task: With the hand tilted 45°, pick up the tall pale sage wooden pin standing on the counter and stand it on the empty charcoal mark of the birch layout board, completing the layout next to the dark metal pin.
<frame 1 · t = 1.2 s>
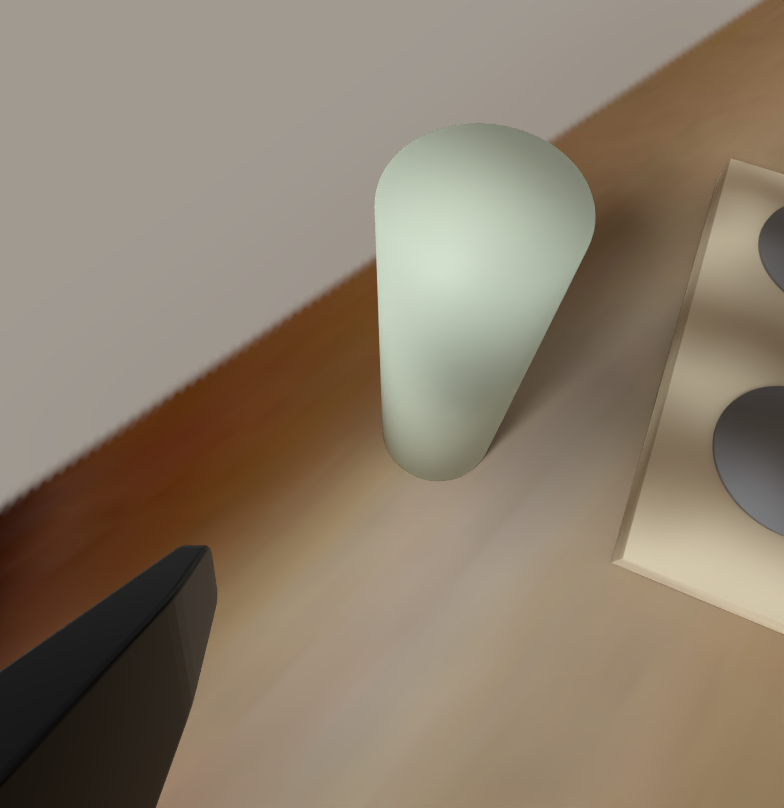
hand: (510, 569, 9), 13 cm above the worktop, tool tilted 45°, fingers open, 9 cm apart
sage pin: (436, 428, 24), on the worktop
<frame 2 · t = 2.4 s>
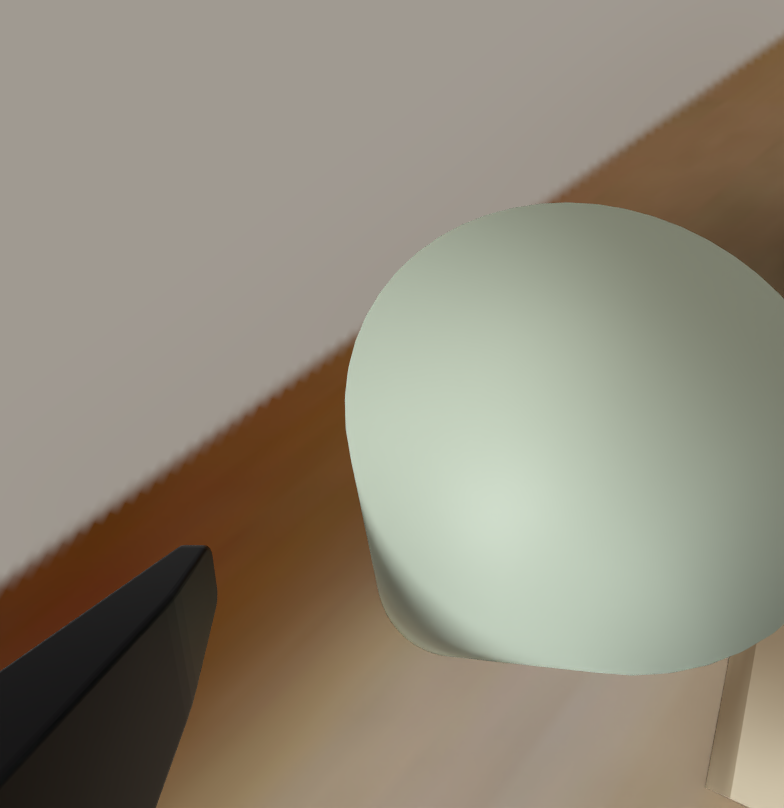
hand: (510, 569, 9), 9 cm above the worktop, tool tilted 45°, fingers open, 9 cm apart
sage pin: (452, 574, 17), on the worktop
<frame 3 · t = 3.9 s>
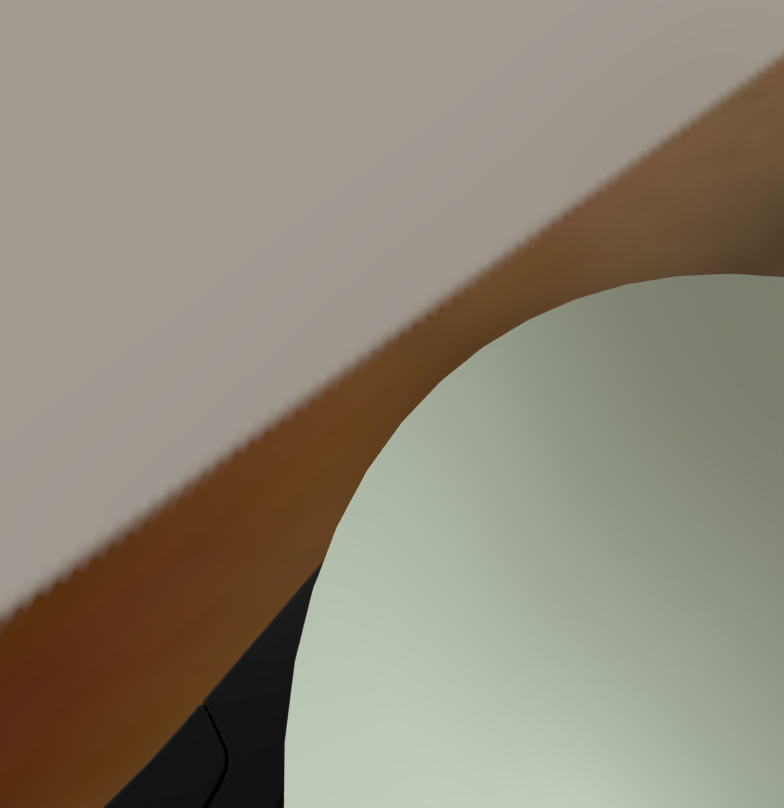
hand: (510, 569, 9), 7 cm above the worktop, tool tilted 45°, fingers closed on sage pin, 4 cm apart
sage pin: (463, 660, 14), on the worktop, touching gripper
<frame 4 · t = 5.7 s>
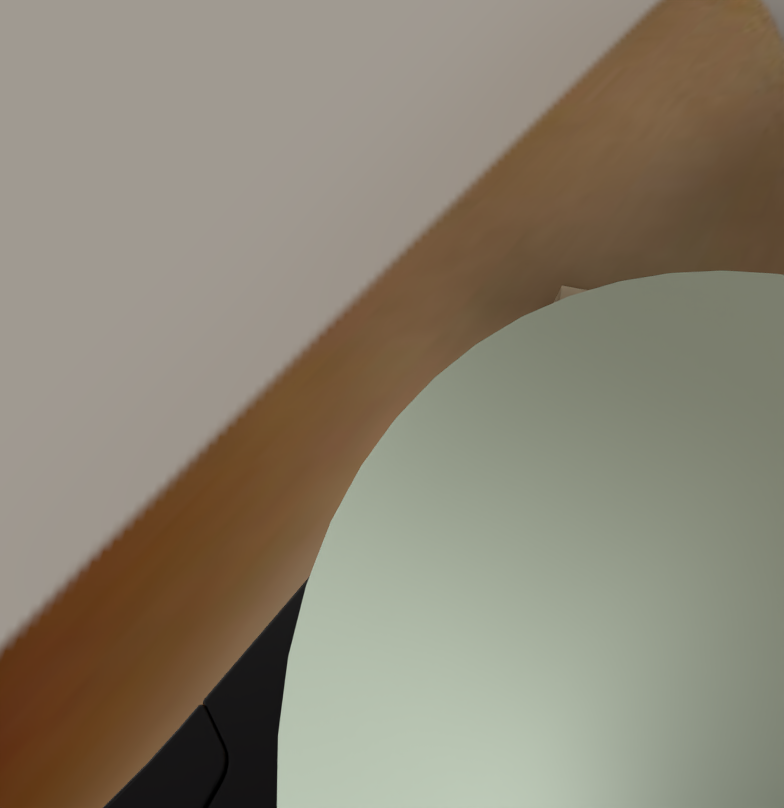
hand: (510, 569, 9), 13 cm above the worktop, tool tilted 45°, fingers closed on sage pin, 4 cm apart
sage pin: (462, 659, 14), point 7 cm above the worktop, touching gripper
when the fingers open (9 cm above the worktop, at t = 7.7 s): sage pin drops 1 cm, resting on layout board.
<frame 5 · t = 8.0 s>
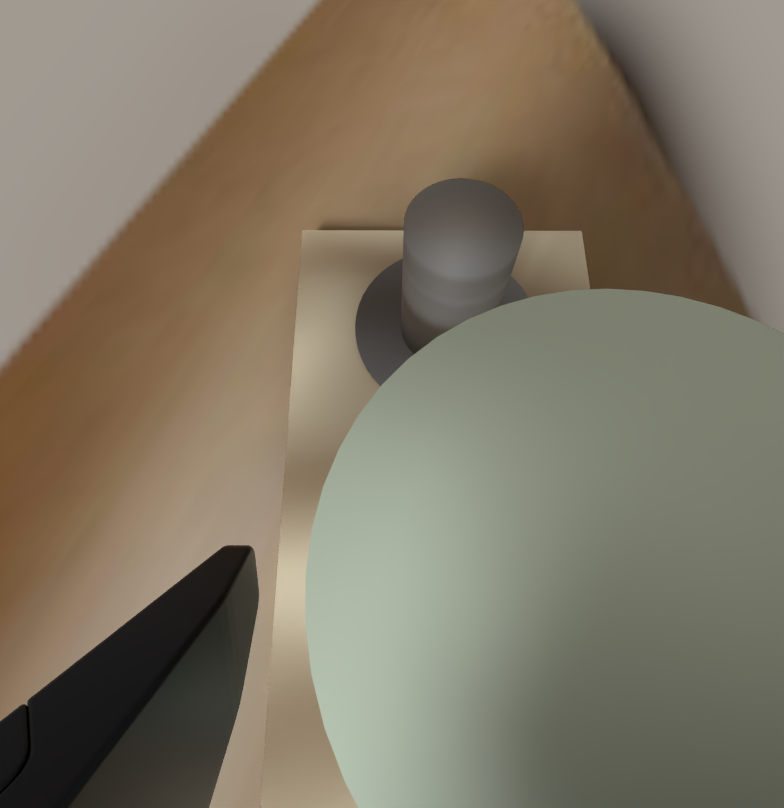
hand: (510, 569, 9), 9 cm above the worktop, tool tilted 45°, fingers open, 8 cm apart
sage pin: (459, 660, 15), point 2 cm above the worktop, touching layout board
layout board: (448, 516, 18), on the worktop
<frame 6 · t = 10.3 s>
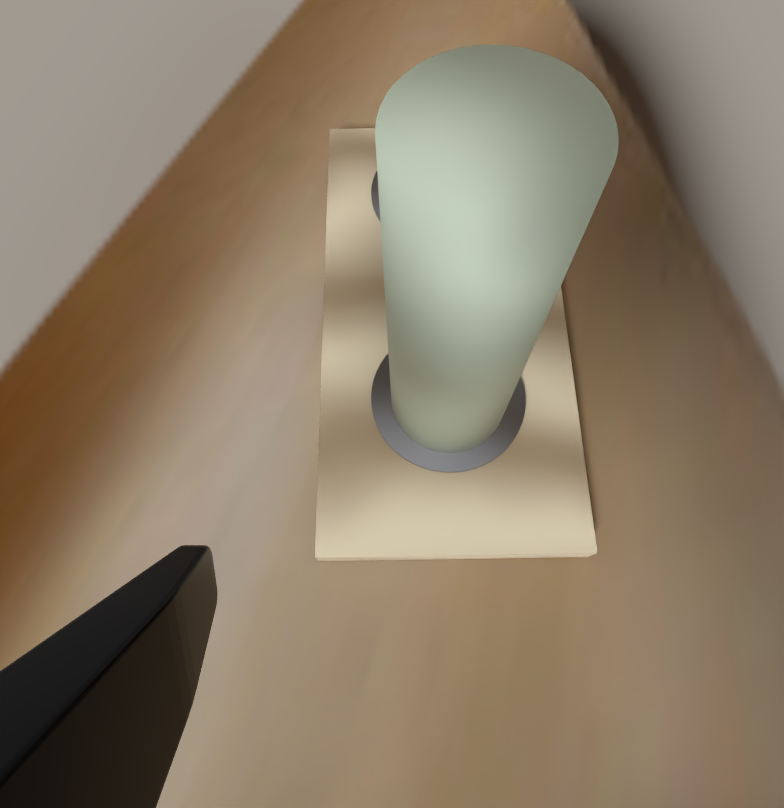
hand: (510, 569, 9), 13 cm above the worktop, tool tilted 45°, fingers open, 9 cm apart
sage pin: (447, 398, 23), point 1 cm above the worktop, touching layout board
layout board: (441, 323, 26), on the worktop
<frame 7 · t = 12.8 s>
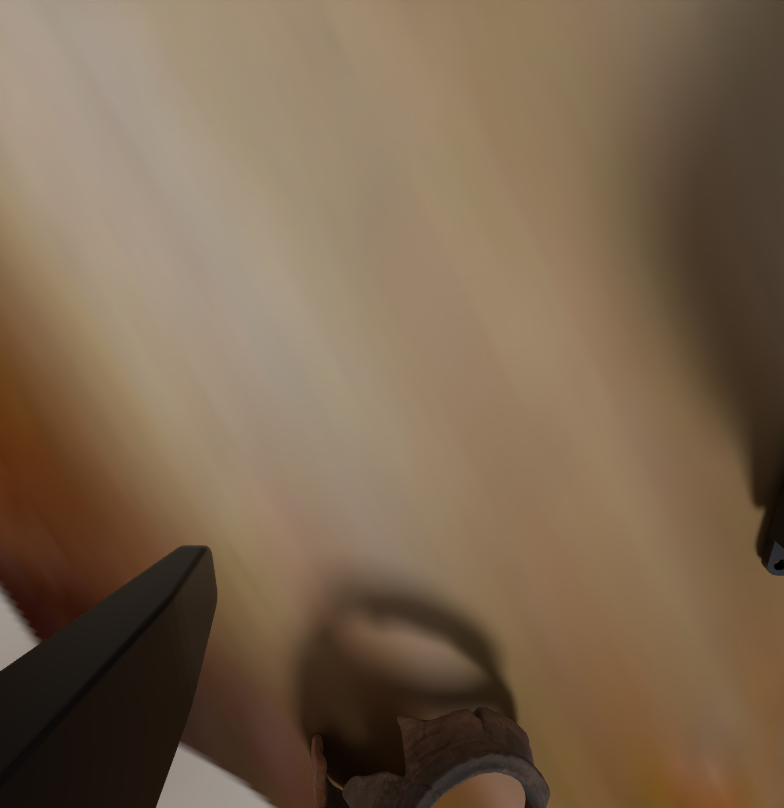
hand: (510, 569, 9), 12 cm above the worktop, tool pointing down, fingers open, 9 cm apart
dark brown curved piece: (419, 752, 28), on the worktop
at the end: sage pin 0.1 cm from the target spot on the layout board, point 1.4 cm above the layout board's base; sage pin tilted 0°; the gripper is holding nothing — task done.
